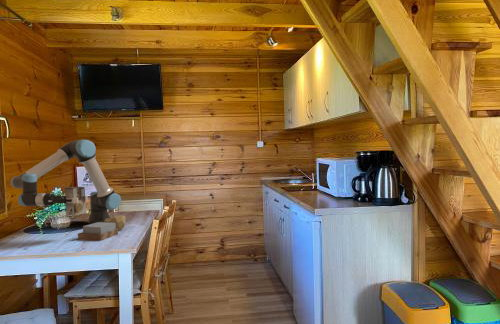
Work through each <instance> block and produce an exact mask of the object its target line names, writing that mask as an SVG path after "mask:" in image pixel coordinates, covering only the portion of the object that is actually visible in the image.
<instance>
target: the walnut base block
mask: <svg viewBox="0 0 500 324" xmlns="http://www.w3.org/2000/svg"><path fill="white" fill-rule="evenodd" d="M118 235H119V231H118V229H115V230H112V231H109V232H106V233H103V234H91V233H83V231H82V232H79V233H77V240H81V241H82V240H83V241H84V240H85V241H96V242H97V241H99V242H101V241H104V240H107V239H110V238H113V237H115V236H118Z"/></svg>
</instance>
